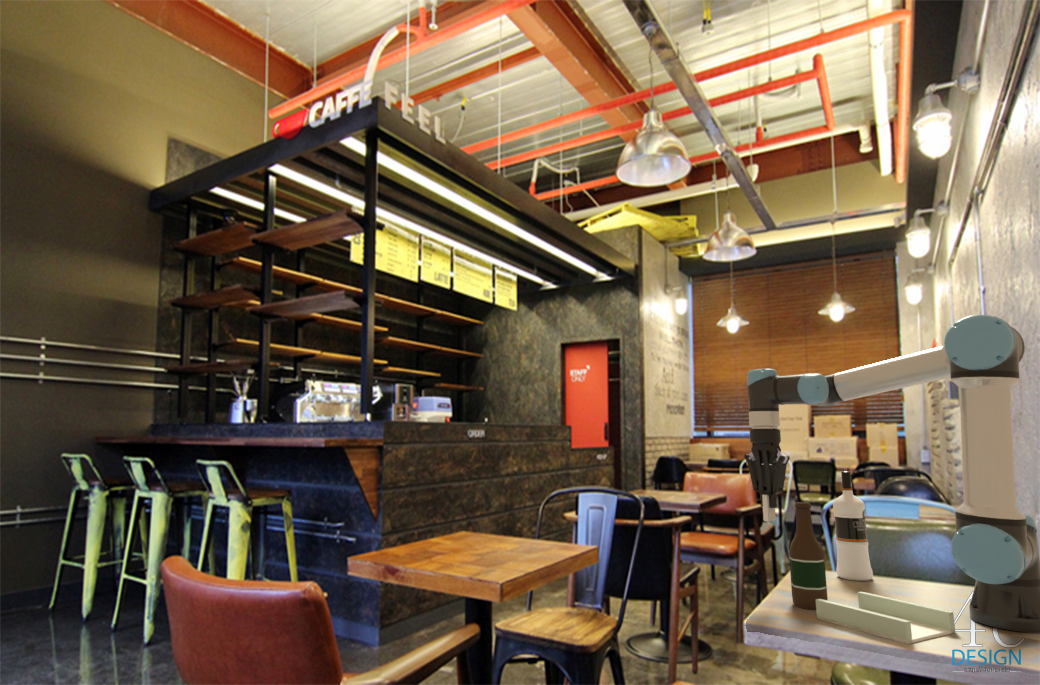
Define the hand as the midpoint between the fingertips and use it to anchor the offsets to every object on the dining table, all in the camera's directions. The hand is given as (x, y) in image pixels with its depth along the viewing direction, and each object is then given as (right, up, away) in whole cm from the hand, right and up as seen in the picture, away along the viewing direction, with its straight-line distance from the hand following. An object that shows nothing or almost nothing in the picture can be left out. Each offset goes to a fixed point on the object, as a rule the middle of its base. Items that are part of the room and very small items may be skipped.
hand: (769, 520), depth 160 cm
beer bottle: (+5, -17, -12) cm, 21 cm away
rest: (+13, -14, -28) cm, 34 cm away
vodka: (+32, -22, +18) cm, 43 cm away
